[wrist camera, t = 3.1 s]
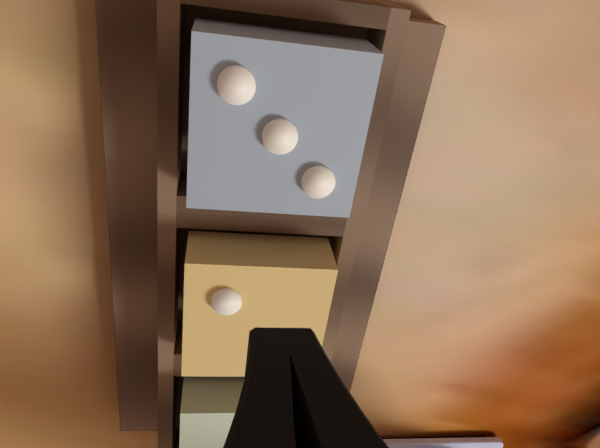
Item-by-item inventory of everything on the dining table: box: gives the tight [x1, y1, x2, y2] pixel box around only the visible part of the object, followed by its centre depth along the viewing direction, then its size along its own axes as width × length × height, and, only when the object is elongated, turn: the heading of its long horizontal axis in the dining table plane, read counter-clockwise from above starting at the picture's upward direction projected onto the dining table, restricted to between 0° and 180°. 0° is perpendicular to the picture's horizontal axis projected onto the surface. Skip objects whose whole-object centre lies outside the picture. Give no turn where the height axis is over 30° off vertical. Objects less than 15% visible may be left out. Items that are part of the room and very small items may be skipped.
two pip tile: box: [181, 231, 338, 377], centre depth 18 cm, size 5×5×2 cm
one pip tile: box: [179, 376, 245, 448], centre depth 22 cm, size 5×5×2 cm
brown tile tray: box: [95, 0, 446, 448], centre depth 20 cm, size 21×11×3 cm, turn 172°
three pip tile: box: [186, 18, 384, 218], centre depth 15 cm, size 5×5×2 cm
